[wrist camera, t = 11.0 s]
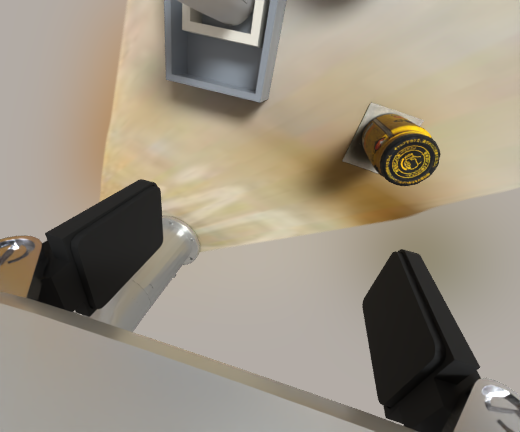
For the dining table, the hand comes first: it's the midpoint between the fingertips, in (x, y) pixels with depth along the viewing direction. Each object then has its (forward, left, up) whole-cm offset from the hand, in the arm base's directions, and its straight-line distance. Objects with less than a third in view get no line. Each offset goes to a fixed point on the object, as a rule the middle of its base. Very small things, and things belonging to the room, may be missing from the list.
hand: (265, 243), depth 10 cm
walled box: (+10, +13, -30) cm, 34 cm away
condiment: (0, -11, -30) cm, 32 cm away
